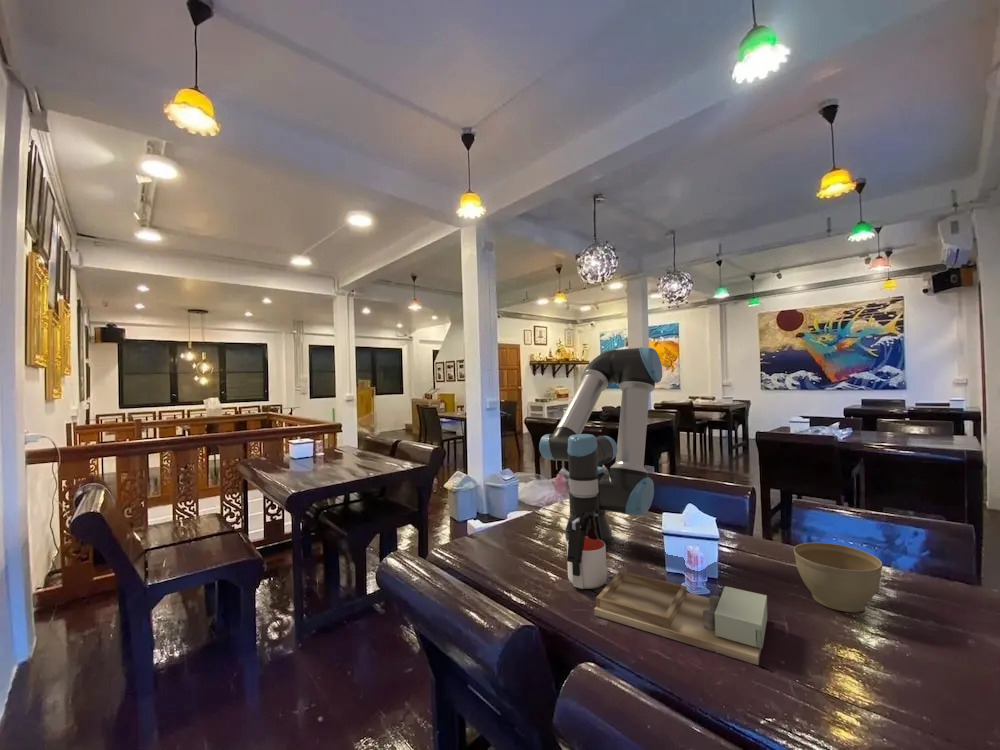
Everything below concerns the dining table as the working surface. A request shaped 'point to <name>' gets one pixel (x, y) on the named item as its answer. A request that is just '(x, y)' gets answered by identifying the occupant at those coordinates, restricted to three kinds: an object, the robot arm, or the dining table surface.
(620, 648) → the dining table surface
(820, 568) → the planter bowl
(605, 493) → the robot arm
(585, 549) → the cup
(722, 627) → the cover
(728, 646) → the board
